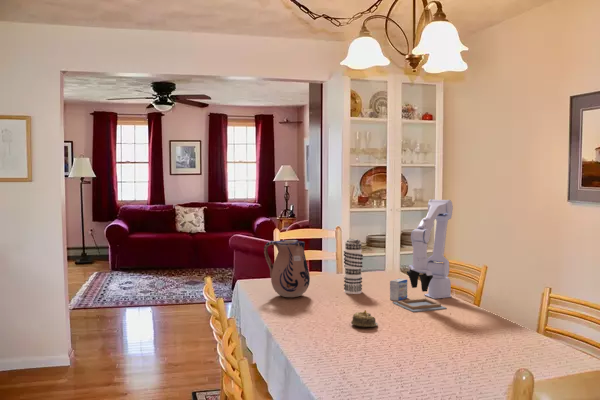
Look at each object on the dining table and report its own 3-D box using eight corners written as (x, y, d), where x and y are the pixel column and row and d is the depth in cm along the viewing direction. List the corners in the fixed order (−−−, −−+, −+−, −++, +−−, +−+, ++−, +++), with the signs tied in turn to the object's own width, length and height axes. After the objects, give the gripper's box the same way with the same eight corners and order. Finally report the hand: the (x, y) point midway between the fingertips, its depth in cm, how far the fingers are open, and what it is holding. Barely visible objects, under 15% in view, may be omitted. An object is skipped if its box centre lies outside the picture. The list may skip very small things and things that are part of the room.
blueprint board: (424, 300, 229) (424, 296, 229) (446, 308, 214) (446, 305, 214) (392, 303, 224) (392, 299, 224) (413, 312, 209) (413, 308, 209)
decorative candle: (339, 290, 248) (340, 238, 247) (356, 289, 252) (356, 237, 250) (349, 294, 239) (349, 240, 238) (366, 293, 243) (366, 240, 242)
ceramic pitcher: (309, 300, 228) (309, 243, 227) (261, 299, 229) (261, 243, 228) (309, 291, 246) (310, 239, 245) (265, 291, 246) (265, 238, 245)
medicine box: (398, 301, 227) (398, 281, 227) (389, 299, 230) (389, 280, 230) (407, 298, 233) (407, 279, 233) (398, 296, 236) (399, 278, 236)
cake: (356, 329, 186) (357, 314, 185) (346, 322, 195) (347, 307, 195) (382, 327, 188) (382, 312, 188) (371, 320, 198) (371, 306, 198)
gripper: (402, 255, 224) (402, 286, 224) (421, 260, 210) (421, 293, 211) (416, 254, 226) (415, 285, 227) (436, 259, 212) (435, 292, 213)
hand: (419, 289), depth 219 cm, fingers open, 7 cm apart
